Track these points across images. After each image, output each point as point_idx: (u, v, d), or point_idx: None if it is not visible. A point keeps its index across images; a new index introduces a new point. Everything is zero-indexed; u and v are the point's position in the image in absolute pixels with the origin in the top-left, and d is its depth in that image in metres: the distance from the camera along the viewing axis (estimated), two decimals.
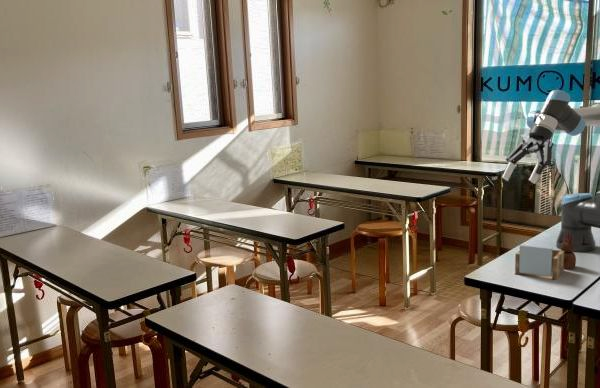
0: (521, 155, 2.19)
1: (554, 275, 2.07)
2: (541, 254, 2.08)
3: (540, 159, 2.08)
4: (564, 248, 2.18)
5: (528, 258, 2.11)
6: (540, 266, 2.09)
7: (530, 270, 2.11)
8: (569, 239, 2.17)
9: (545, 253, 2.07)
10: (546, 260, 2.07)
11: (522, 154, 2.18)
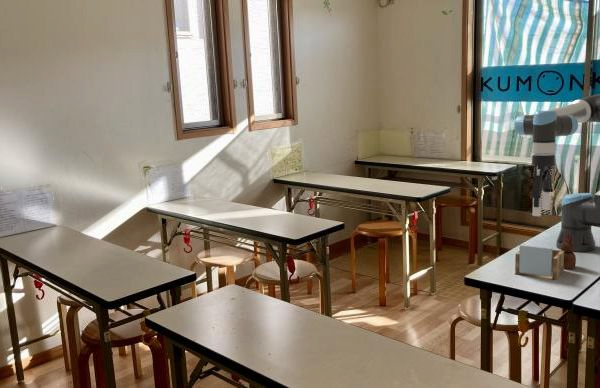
0: (545, 183, 2.16)
1: (554, 275, 2.07)
2: (541, 254, 2.08)
3: None
4: (564, 248, 2.18)
5: (528, 258, 2.11)
6: (540, 266, 2.09)
7: (530, 270, 2.11)
8: (569, 239, 2.17)
9: (545, 253, 2.07)
10: (546, 260, 2.07)
11: (544, 182, 2.15)
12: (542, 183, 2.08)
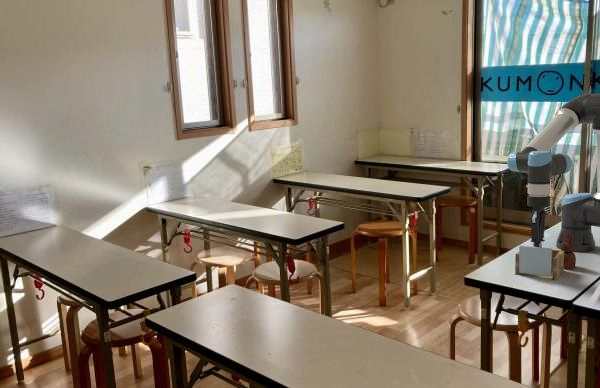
0: None
1: (554, 275, 2.07)
2: (541, 254, 2.07)
3: None
4: (564, 248, 2.18)
5: (528, 259, 2.10)
6: (540, 266, 2.08)
7: (530, 270, 2.11)
8: (569, 239, 2.17)
9: (545, 253, 2.07)
10: (546, 260, 2.07)
11: None
12: (540, 227, 2.08)
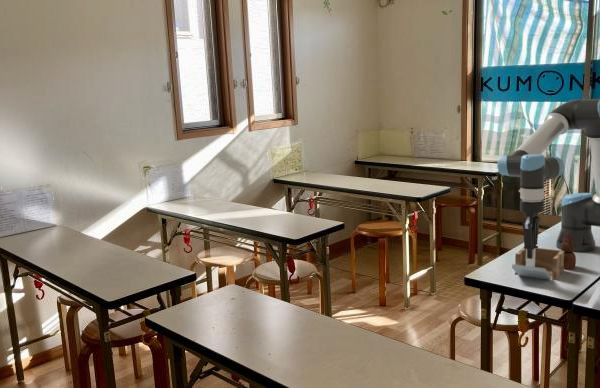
0: None
1: (554, 275, 2.07)
2: (536, 272, 2.03)
3: None
4: (564, 248, 2.18)
5: (524, 272, 2.07)
6: (537, 275, 2.06)
7: (529, 276, 2.10)
8: (569, 239, 2.17)
9: (539, 272, 2.02)
10: (542, 274, 2.03)
11: None
12: (533, 233, 2.01)
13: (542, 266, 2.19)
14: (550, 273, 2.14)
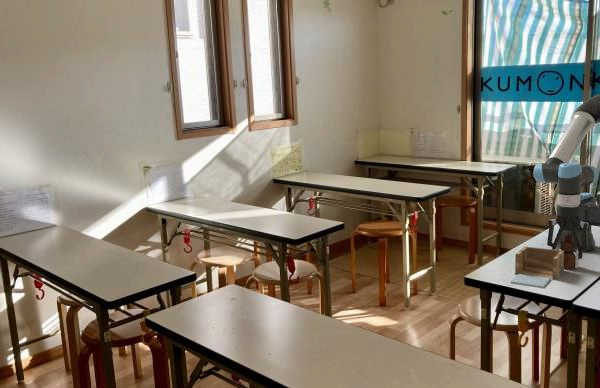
0: (560, 235, 2.20)
1: (554, 275, 2.07)
2: None
3: (578, 245, 2.15)
4: (564, 248, 2.18)
5: None
6: None
7: None
8: (569, 239, 2.17)
9: None
10: None
11: (561, 234, 2.20)
12: (578, 234, 2.17)
13: (542, 266, 2.19)
14: (550, 273, 2.14)
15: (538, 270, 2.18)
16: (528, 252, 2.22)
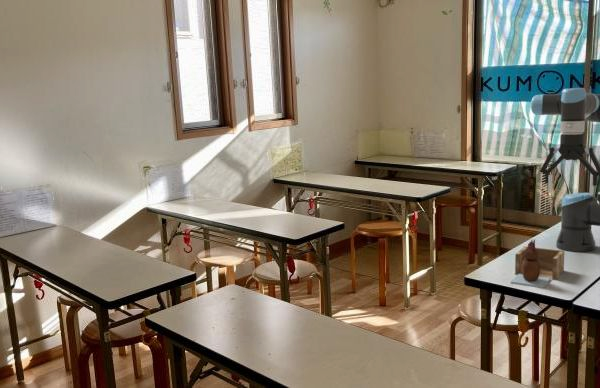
0: None
1: (554, 275, 2.07)
2: None
3: (591, 170, 2.02)
4: (527, 255, 2.03)
5: None
6: None
7: None
8: (532, 246, 2.02)
9: None
10: None
11: None
12: (587, 161, 2.04)
13: (542, 266, 2.19)
14: (550, 273, 2.14)
15: None
16: None
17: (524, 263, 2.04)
